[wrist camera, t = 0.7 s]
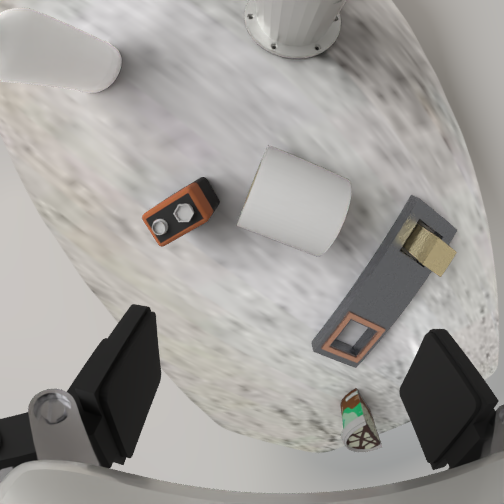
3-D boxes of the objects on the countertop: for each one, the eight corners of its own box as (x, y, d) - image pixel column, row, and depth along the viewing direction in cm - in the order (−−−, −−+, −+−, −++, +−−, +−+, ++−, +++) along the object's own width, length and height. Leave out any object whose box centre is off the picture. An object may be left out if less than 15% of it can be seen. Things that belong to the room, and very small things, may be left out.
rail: (411, 194, 38) (420, 198, 36) (449, 225, 40) (458, 230, 37) (311, 341, 48) (313, 352, 45) (352, 358, 49) (356, 368, 46)
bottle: (98, 36, 31) (-56, -19, 3) (133, 56, 33) (-32, -12, 5) (69, 80, 34) (-96, 69, 6) (101, 102, 35) (-81, 97, 7)
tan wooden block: (412, 220, 40) (439, 238, 32) (429, 233, 40) (456, 252, 33) (398, 243, 41) (422, 264, 34) (416, 254, 42) (440, 277, 34)
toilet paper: (337, 174, 38) (360, 185, 29) (308, 240, 42) (320, 270, 32) (267, 144, 37) (269, 145, 28) (240, 213, 41) (232, 237, 31)
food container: (325, 397, 53) (332, 436, 44) (353, 384, 52) (365, 423, 42) (346, 424, 56) (354, 459, 47) (372, 413, 55) (382, 448, 46)
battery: (221, 203, 40) (208, 223, 31) (180, 226, 42) (157, 252, 32) (205, 175, 39) (186, 186, 30) (164, 200, 40) (136, 218, 31)
